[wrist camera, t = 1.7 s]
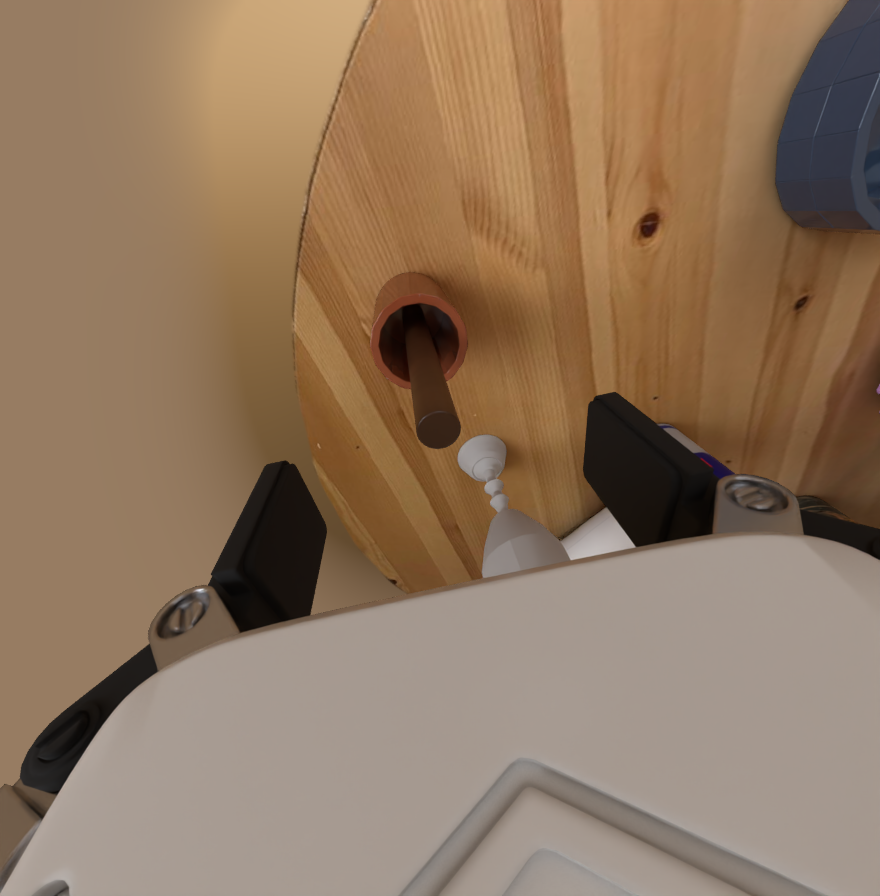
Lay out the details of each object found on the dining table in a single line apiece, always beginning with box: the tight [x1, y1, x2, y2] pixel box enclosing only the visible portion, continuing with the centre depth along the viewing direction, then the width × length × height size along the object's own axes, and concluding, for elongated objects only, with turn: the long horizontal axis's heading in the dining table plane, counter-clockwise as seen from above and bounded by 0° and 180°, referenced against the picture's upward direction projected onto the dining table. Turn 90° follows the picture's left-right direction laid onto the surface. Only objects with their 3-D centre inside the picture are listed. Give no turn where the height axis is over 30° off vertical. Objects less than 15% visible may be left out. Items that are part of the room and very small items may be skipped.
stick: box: [402, 304, 461, 449], centre depth 19 cm, size 2×2×17 cm
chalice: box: [458, 435, 570, 578], centre depth 28 cm, size 7×7×18 cm
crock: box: [370, 272, 468, 389], centre depth 24 cm, size 6×6×8 cm
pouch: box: [560, 507, 635, 560], centre depth 43 cm, size 8×19×20 cm
